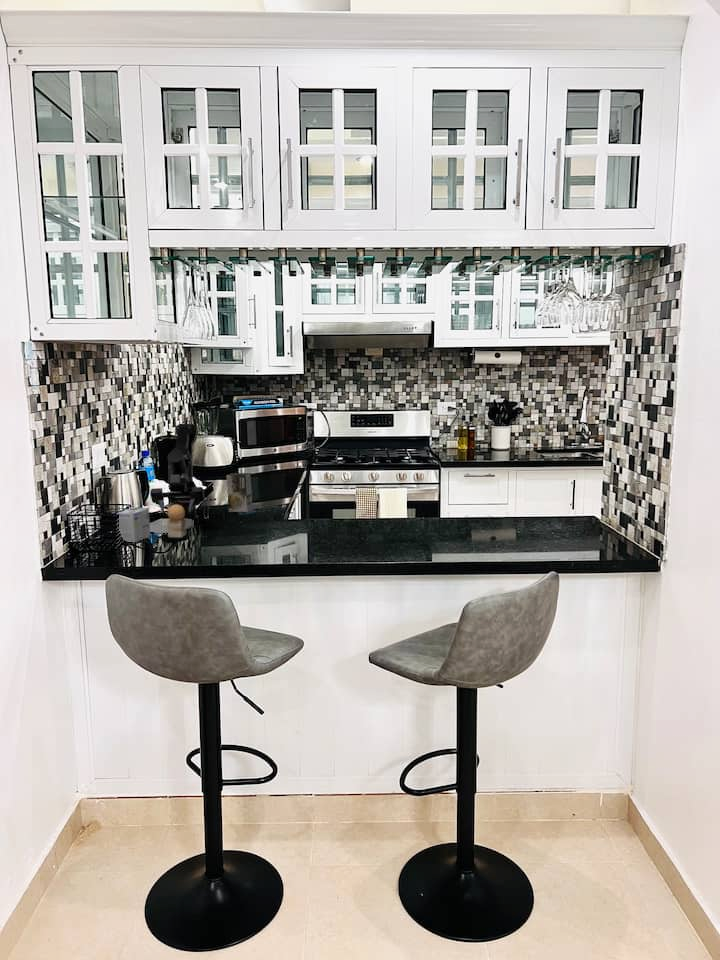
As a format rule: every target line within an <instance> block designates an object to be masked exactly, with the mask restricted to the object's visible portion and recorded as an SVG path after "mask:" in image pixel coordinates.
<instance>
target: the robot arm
mask: <svg viewBox="0 0 720 960" xmlns="http://www.w3.org/2000/svg"><path fill="white" fill-rule="evenodd" d="M198 435H199V428H198V426H197V425H195V423H179V424H177V425H175V436H177V438H176V444H175V447H174V448H173V449H172V450H171V451H170V452H169V453H168V454H167V462H168V466H169V469H170V471H171V473H170V474H169V475H168V490H169V491H163V488H160V487H159V488H156V487H155V488H151V489H150V492H149V494H150V499H151V503H154V504H155V505H158V506H159V508H160V510H161V514H162V515H163V516H164V515H165V498H176V505H180V506H182V507H183V508H184V510H185V515H184V517H183V518H186V519H193V520H195V519H198V518H199V517H200V515H197V505H199V504H201V502H204V501H205V492H204V491H205V490H204V488H203V487H202V486H197V485H196V483H195V482H194V480H193V479H194V478H193V476H194V475H193V473H194V472H193V471H194V470H193V468H194V467H193V465H194V464H193V460H194V459H193V456H194V455H193V454H194V453H193V446H194V444H195V443H196V441H197V436H198Z"/></svg>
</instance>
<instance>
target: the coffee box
mask: <svg viewBox="0 0 720 960" xmlns="http://www.w3.org/2000/svg"><path fill="white" fill-rule="evenodd" d="M226 487H227V488H226V490H227V505H228V506H227V509H228V513H233V512H234V513H235V512H236V513H249V512H251V511H253V509H254V507H253V491H252V488H253V487H252V473H251V472H231V473H228V474H226Z"/></svg>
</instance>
